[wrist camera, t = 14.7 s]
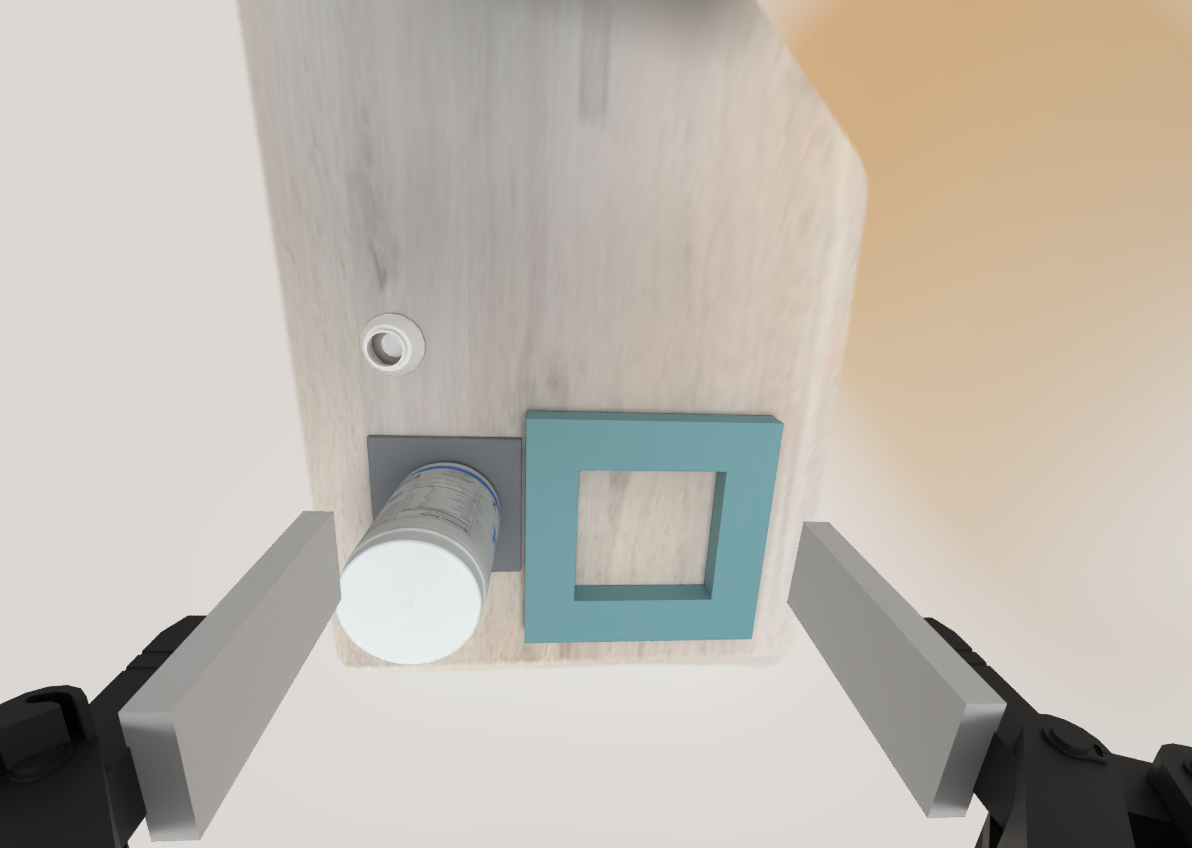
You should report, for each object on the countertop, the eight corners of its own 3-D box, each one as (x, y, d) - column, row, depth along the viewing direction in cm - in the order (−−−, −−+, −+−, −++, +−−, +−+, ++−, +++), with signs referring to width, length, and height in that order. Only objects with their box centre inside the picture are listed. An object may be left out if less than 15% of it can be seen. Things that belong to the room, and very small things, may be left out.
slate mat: (368, 435, 47) (366, 437, 47) (521, 437, 48) (521, 440, 48) (379, 568, 51) (377, 572, 50) (520, 567, 52) (520, 571, 52)
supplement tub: (490, 564, 51) (469, 680, 37) (386, 546, 50) (322, 659, 36) (511, 468, 49) (496, 555, 35) (402, 447, 47) (340, 527, 33)
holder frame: (527, 410, 48) (526, 418, 45) (772, 415, 50) (783, 423, 47) (525, 626, 54) (524, 643, 52) (742, 622, 56) (751, 639, 54)
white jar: (438, 349, 46) (397, 300, 44) (431, 356, 43) (386, 303, 42) (392, 385, 46) (350, 337, 45) (382, 393, 44) (337, 343, 42)
